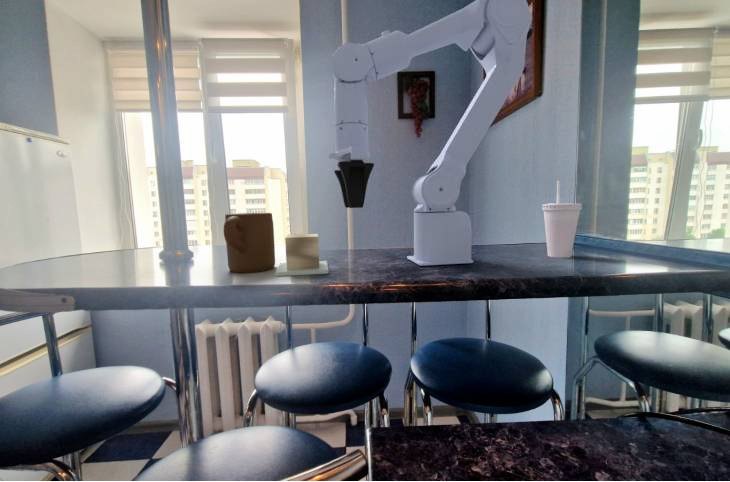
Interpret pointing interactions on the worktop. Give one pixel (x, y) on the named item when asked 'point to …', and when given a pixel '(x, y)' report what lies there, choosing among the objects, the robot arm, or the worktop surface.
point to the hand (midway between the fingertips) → (353, 207)
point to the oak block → (302, 251)
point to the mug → (249, 242)
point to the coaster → (302, 270)
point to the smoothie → (560, 226)
